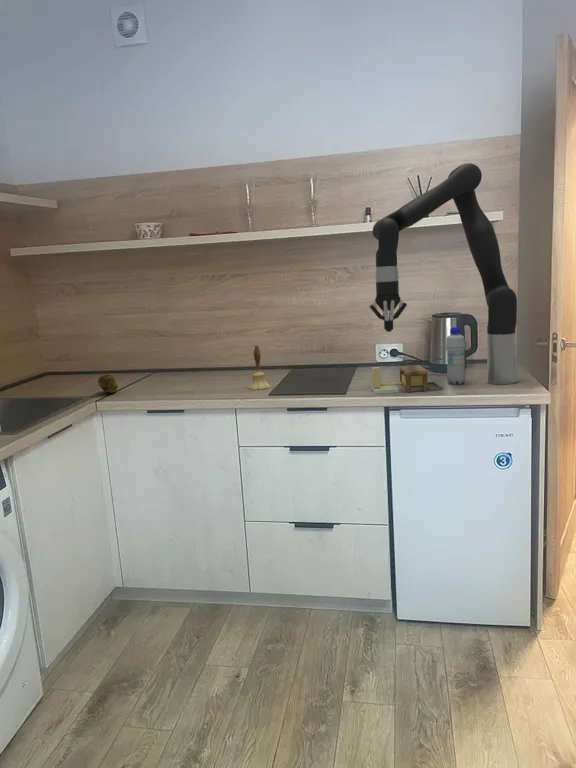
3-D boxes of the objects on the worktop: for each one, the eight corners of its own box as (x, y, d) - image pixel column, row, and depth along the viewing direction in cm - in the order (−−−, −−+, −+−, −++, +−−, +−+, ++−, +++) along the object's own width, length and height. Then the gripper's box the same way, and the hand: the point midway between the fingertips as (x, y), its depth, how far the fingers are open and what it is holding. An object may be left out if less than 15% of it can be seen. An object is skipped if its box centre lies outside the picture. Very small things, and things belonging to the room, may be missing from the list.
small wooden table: (419, 384, 225) (419, 364, 224) (427, 391, 213) (427, 370, 212) (400, 386, 225) (399, 366, 224) (407, 393, 213) (406, 372, 212)
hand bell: (245, 387, 241) (242, 346, 238) (266, 384, 244) (263, 343, 241) (252, 391, 234) (249, 348, 231) (273, 388, 237) (270, 345, 234)
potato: (125, 389, 253) (123, 370, 251) (113, 396, 240) (111, 375, 239) (105, 390, 254) (103, 370, 252) (92, 397, 241) (90, 376, 240)
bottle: (452, 386, 219) (451, 328, 216) (442, 382, 226) (441, 327, 222) (469, 384, 221) (469, 327, 217) (459, 380, 227) (458, 325, 224)
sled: (421, 382, 221) (421, 363, 220) (425, 385, 217) (424, 365, 215) (372, 385, 221) (371, 366, 220) (374, 388, 216) (373, 369, 215)
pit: (434, 384, 225) (434, 381, 224) (442, 390, 214) (442, 387, 214) (421, 385, 224) (421, 382, 224) (428, 391, 214) (428, 388, 214)
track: (422, 385, 223) (422, 382, 223) (427, 390, 215) (427, 386, 215) (371, 389, 223) (371, 385, 223) (375, 393, 215) (375, 390, 215)
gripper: (404, 278, 216) (405, 329, 219) (365, 281, 215) (367, 331, 219) (409, 279, 208) (410, 331, 212) (369, 281, 208) (371, 334, 211)
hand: (388, 331), depth 215 cm, fingers closed
